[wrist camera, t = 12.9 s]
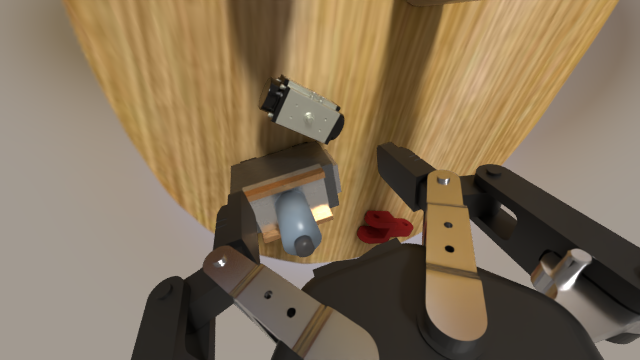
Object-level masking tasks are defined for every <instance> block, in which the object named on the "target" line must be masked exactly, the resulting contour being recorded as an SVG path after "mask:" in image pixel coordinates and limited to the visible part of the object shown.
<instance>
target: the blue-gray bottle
mask: <svg viewBox="0 0 640 360" xmlns="http://www.w3.org/2000/svg"><path fill="white" fill-rule="evenodd" d="M275 212H276V216H277V221H278V225H279V230H280V234H281V239H282V243H283V247H284V250H285V251H286V252H287V253H288V254H291V255H297V256H299V257H307V256H309V255H311V254H312V253H313V252H314V250H315V249H316V248H317V247H318V245H319V244H320V242H321V239H322V236H321V233H320V230H319V228H318V226H317V223H316V221H315V218H314V216H313V214H312V211H311V209H310V206H309V204H308V202H307V199H306V197H305V196H304V195H303V194H302V193H300V192H297V191H290V192H286V193H284V194H282V195H281V196H279V197H278V199H277V200H276V202H275Z"/></svg>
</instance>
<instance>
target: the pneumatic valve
mask: <svg viewBox="0 0 640 360" xmlns="http://www.w3.org/2000/svg"><path fill="white" fill-rule="evenodd" d="M258 107H259V109H260V110H262V111H265V112H267V113H268V117H269V118H270V120H271V121H272V122H274V123H277V124H279V125H282V126H284V127H286V128H289V129H291V130H293V131H296V132H298V133H301V134H303V135H305V136H308V137H310V138H313V139H315V140H317V141H320V142H322V143H324V144H327V145H328V143H329V141H330V140H334V139H335V138H336V137H337V136H338V135H339V134H340V132H341V131H342V128H343V126H344V115H343V114H341V113H340V112H339V110H340V107H339V106H338V105H337V104H335V103H334V102H332V101H330V100H328V99H327V98H325V97H323V96H321V95H319V94H317V93H316V92H314V91H312V90H310V89H308V88H306V87H304V86H303V85H301V84H299V83H297V82H295V81H293V80H291V79H290V78H288V77H286V76H284V75H282V74H281V76H280V78H279V77H278V79H274V78H272V77H270V78H269V79H268V80H267V82H266V84H265V86H264V88H263V91H262V94H261V97H260V100H259V106H258Z"/></svg>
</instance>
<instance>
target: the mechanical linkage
mask: <svg viewBox="0 0 640 360" xmlns="http://www.w3.org/2000/svg"><path fill="white" fill-rule="evenodd" d="M364 219H365V221H366V223H367V224H368V225H370V226H360V228H359V230H358V232H357V236H358V237H359V239H360V240H362V241H363V242H365V243H369V244H373V243H384V242H387V241H388V240H389V239H390V237H406V236H409V235H410V233H411V232H412V230H413V225H412V224H411V223H410V222H409V221H407V220H405V219H402V218H394V217H393V216H392V215H391V214H390V213H389V211H367V213H366V215H365V218H364Z"/></svg>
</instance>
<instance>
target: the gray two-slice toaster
mask: <svg viewBox="0 0 640 360" xmlns="http://www.w3.org/2000/svg"><path fill="white" fill-rule="evenodd" d="M241 190H243V192H244V193H245V195H246V197H247V199H248V201H249V203H250V205H251V207H252V209H253V211H254V213H255V216H256V222H257V234H258V233H261V232H262V233H263V240H264V242H265V244H266V243H268V242H271V241H274V240H277V239H280V238H281V234H280V230H279V225H278V221H277V216H276V212H275V202H276V200H277V199H278V197H279V196H281V195H282V194H284V193H286V192H290V191H297V192H300V193H302V194H303V195H304V196H305V197H306V199H307V202H308V204H309V206H310V209H311V211H312V214H313V216H314V218H315V221H316V223H317V225H319V224H322V223H324V222H327V221H330V220H333V215H332V213H331V211H330V208H332V207H335V206H338V205H339V201H338V195H337V193H339V192H341V186H340V179H339V173H338V166H337V163H336V162H335V161H334V159H333V158H332V157H331V155H330V154H329V153H328V151H327V150H326V149H324V150H322V148H321V147H320V145H319V144H318V143H317V141H313V142H310V143H307V142H305V143H302V144H299V145H295V146H292V148H290V149H286V150H283V151H280V152H276V153H273V154H270V155H266V156H263V157H260V158H256V157H255V158H252V159H249V160H245V161H242V162H240V164H236V165H233V166H231V187H230V194H232V193H235V192H238V191H241Z"/></svg>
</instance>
